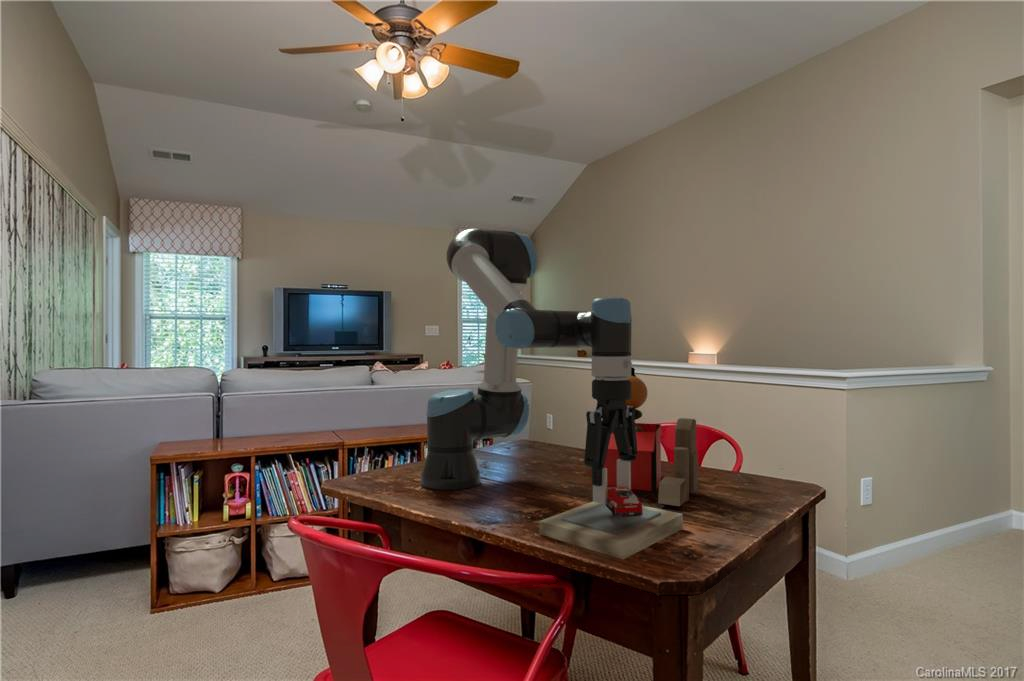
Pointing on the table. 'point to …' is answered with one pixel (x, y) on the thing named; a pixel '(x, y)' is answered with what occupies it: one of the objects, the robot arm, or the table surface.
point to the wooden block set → (681, 466)
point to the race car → (623, 502)
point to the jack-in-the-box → (638, 446)
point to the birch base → (611, 528)
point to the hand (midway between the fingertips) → (612, 497)
